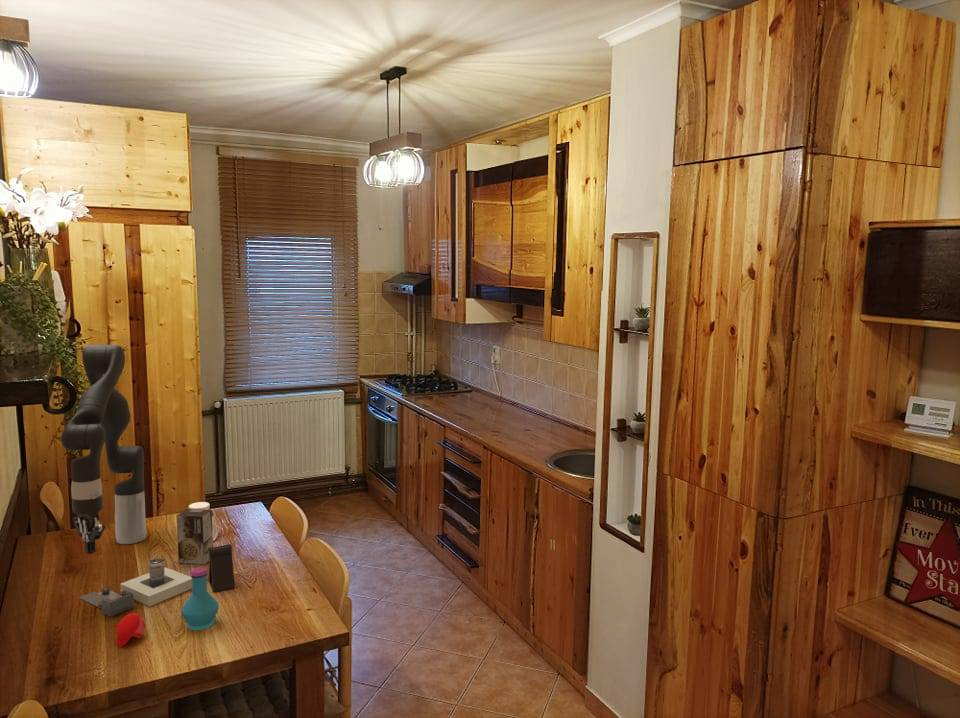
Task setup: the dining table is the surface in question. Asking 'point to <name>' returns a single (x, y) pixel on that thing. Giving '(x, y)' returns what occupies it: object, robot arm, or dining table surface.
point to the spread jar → (206, 507)
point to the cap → (129, 628)
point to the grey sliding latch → (111, 603)
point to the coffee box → (194, 535)
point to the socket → (151, 596)
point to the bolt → (107, 595)
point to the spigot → (156, 572)
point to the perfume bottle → (199, 603)
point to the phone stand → (221, 568)
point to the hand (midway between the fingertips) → (90, 552)
